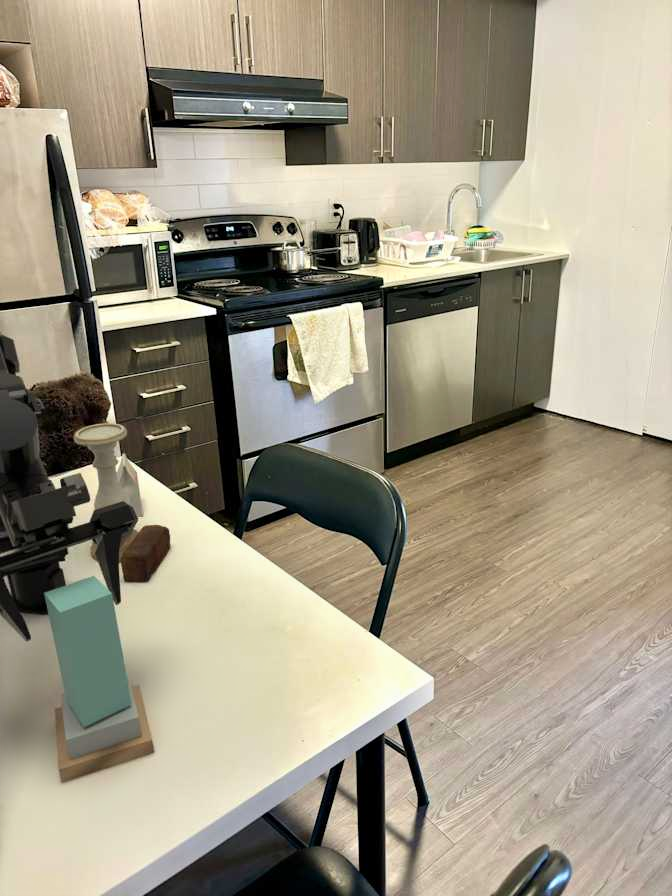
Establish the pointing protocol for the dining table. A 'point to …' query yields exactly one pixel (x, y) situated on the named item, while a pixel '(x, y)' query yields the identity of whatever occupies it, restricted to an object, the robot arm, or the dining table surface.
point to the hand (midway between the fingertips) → (75, 621)
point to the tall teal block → (88, 649)
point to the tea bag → (130, 484)
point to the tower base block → (106, 755)
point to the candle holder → (105, 468)
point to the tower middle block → (100, 729)
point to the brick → (145, 553)
